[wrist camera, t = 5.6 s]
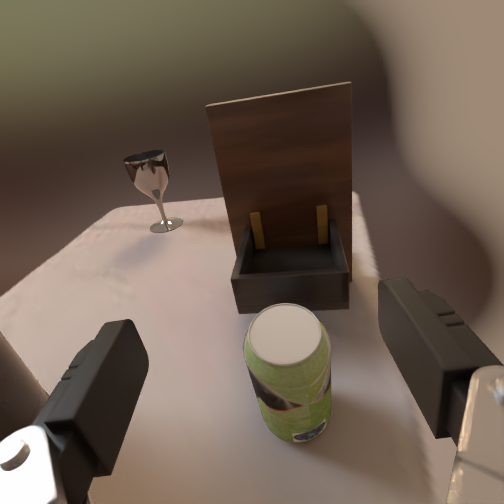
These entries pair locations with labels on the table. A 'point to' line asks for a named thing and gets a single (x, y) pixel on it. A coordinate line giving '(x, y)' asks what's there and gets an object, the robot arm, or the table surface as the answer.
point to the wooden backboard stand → (288, 195)
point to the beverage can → (290, 370)
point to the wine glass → (152, 182)
